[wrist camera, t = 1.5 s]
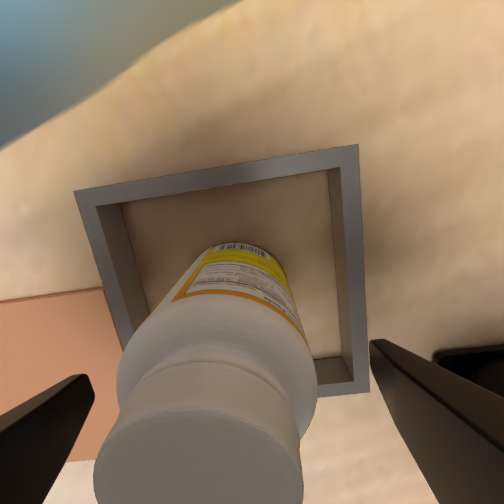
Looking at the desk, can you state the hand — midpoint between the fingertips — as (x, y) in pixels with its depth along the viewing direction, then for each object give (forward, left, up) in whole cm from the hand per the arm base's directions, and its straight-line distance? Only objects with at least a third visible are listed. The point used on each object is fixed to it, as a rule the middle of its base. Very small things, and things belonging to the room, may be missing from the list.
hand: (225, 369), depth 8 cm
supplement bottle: (0, 0, -7) cm, 7 cm away
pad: (+14, +5, -7) cm, 16 cm away
